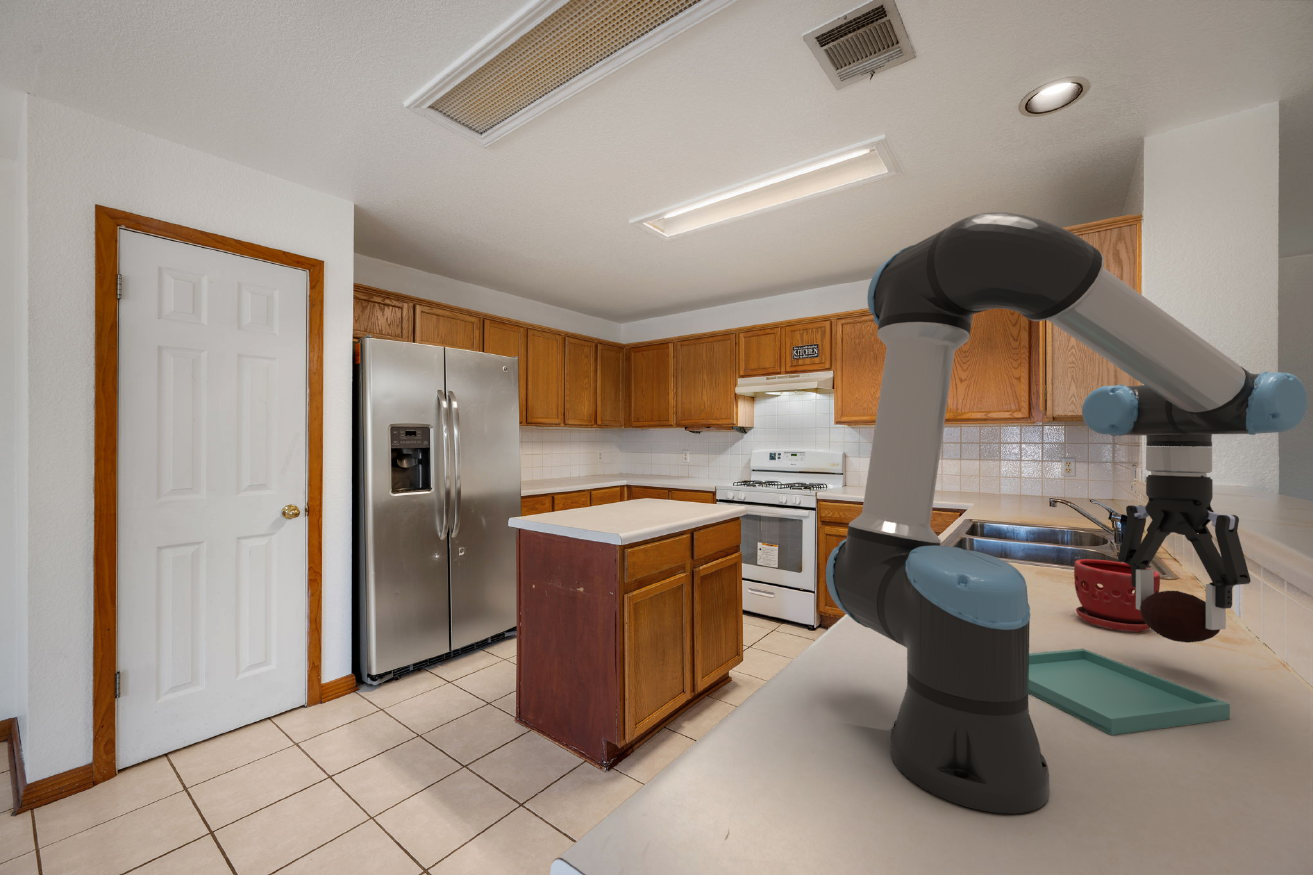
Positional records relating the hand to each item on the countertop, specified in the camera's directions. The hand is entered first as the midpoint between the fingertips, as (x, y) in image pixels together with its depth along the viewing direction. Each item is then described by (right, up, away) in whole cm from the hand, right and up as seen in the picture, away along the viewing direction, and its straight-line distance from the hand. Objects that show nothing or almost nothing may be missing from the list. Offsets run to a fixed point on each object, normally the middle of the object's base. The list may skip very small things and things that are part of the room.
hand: (1178, 618), depth 84 cm
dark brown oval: (0, -4, 0) cm, 4 cm away
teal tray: (-18, -9, -6) cm, 21 cm away
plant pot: (+10, -10, +24) cm, 28 cm away
